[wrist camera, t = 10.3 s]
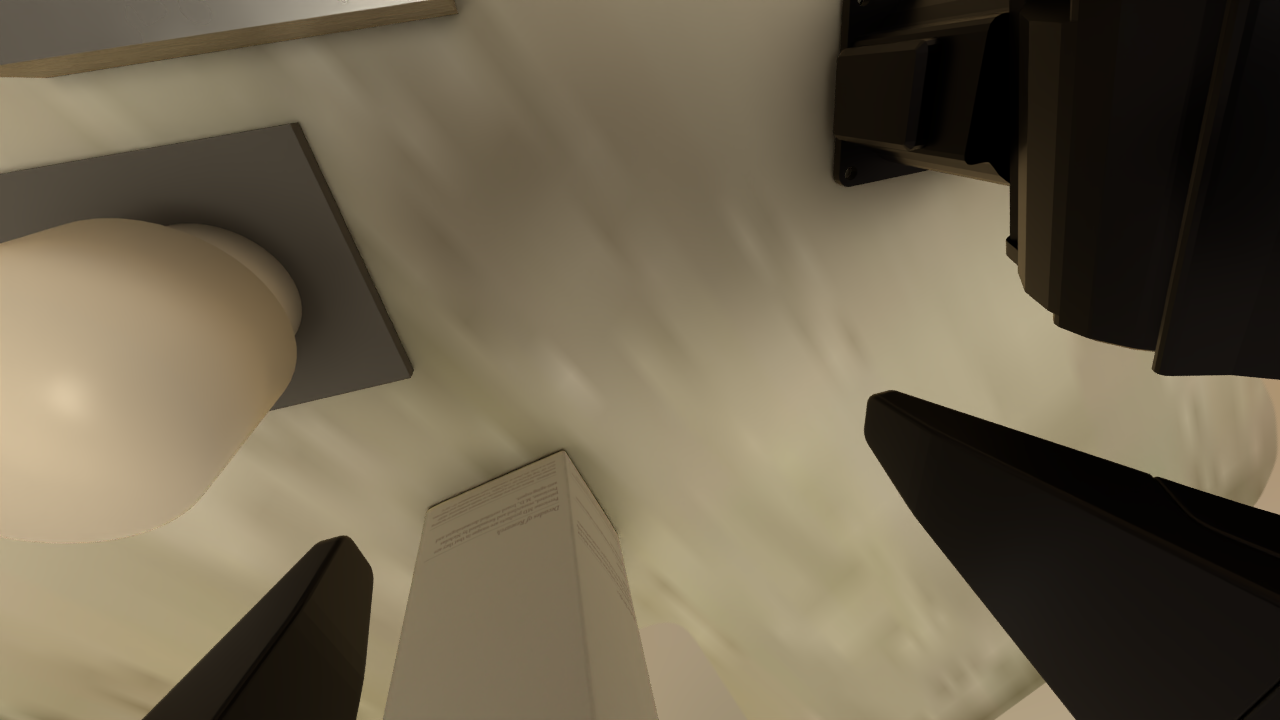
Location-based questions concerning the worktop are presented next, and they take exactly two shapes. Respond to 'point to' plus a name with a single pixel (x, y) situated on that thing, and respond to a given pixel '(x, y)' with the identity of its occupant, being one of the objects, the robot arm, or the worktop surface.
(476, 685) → the supplement box
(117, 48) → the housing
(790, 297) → the worktop surface
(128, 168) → the rubber mat
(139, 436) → the end cover
